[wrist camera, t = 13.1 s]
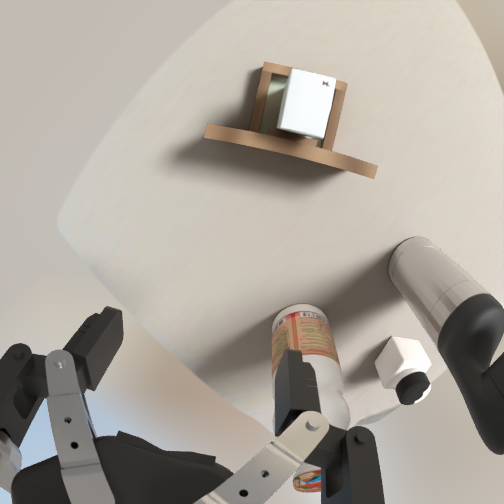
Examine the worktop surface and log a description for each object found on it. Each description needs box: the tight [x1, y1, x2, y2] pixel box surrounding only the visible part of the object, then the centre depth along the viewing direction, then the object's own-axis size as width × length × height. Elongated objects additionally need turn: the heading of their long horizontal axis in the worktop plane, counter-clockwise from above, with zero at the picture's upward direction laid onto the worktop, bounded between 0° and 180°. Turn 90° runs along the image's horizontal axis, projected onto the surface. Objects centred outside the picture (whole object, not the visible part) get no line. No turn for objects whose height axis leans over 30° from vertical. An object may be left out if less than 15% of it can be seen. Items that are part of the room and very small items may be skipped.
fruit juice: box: [272, 304, 350, 492], centre depth 34 cm, size 9×9×28 cm
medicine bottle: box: [374, 336, 431, 405], centre depth 43 cm, size 7×7×12 cm
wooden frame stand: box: [204, 62, 378, 179], centre depth 30 cm, size 18×11×9 cm, turn 78°
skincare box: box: [276, 68, 336, 139], centre depth 28 cm, size 6×4×12 cm
